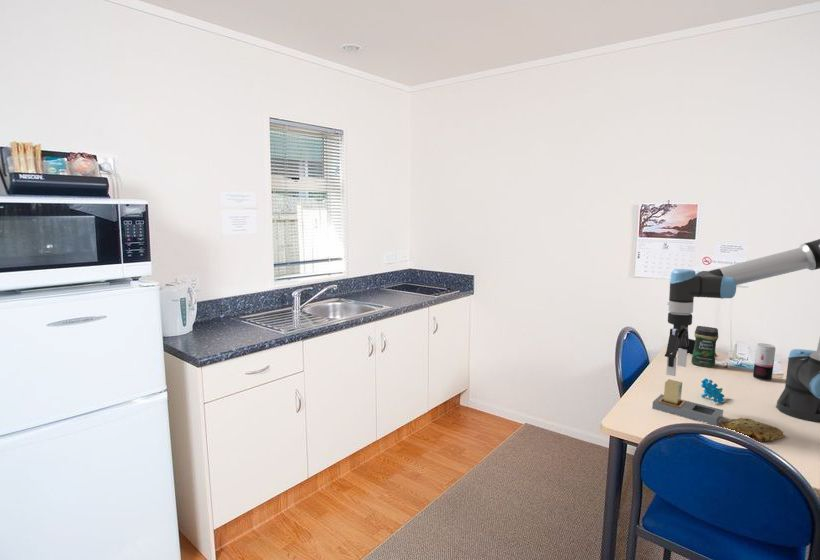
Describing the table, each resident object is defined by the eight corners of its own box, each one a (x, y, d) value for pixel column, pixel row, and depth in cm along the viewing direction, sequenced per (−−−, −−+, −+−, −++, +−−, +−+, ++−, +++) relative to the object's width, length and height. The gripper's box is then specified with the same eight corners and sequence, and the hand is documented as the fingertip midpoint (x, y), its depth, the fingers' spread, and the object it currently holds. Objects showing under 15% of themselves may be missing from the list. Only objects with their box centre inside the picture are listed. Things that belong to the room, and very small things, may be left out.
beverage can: (775, 380, 201) (779, 346, 199) (765, 382, 199) (769, 348, 197) (759, 375, 207) (763, 342, 205) (749, 377, 205) (753, 344, 203)
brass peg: (679, 408, 170) (682, 382, 169) (676, 412, 167) (678, 385, 166) (666, 404, 173) (668, 379, 172) (662, 408, 170) (665, 382, 169)
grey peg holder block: (722, 416, 163) (723, 409, 163) (716, 425, 156) (717, 417, 156) (660, 400, 177) (661, 393, 177) (652, 408, 170) (652, 401, 170)
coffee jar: (690, 365, 220) (694, 327, 218) (691, 361, 227) (695, 323, 224) (715, 369, 215) (719, 330, 212) (715, 364, 221) (719, 326, 219)
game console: (717, 356, 236) (719, 338, 235) (703, 360, 229) (705, 342, 228) (685, 348, 249) (687, 332, 248) (671, 352, 242) (673, 335, 241)
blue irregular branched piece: (714, 402, 172) (699, 377, 178) (701, 408, 176) (687, 384, 182) (732, 401, 177) (717, 377, 183) (719, 408, 181) (704, 384, 187)
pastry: (794, 449, 142) (795, 440, 142) (727, 438, 148) (728, 429, 148) (773, 425, 158) (775, 417, 158) (714, 417, 164) (715, 409, 164)
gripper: (678, 306, 177) (674, 360, 179) (657, 316, 159) (654, 376, 162) (701, 309, 172) (696, 364, 174) (682, 320, 154) (678, 381, 157)
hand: (676, 370), depth 168 cm, fingers open, 13 cm apart
